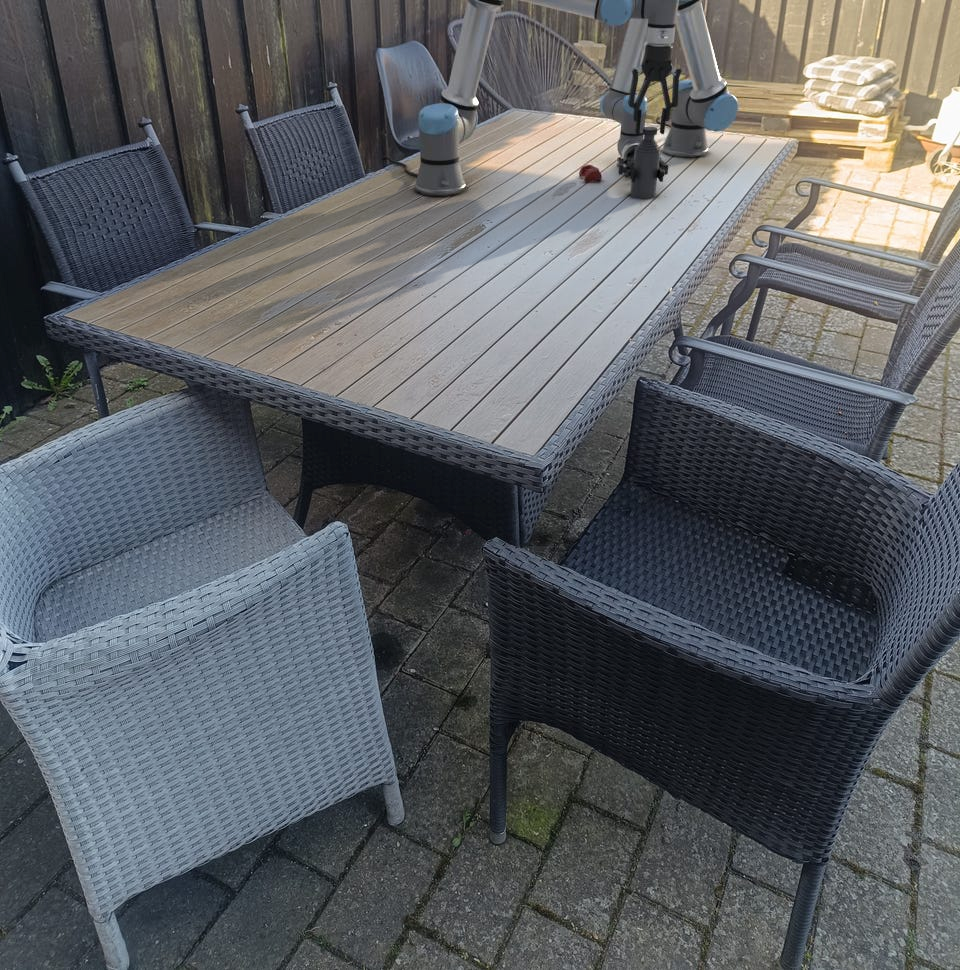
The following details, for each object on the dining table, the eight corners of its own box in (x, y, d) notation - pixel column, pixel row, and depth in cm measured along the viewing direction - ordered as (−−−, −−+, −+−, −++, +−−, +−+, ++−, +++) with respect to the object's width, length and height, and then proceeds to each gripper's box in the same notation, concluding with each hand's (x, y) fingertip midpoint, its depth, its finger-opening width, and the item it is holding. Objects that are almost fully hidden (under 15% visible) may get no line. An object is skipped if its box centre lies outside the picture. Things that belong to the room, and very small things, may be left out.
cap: (648, 131, 246) (648, 125, 245) (659, 134, 244) (660, 128, 243) (639, 133, 244) (639, 128, 243) (650, 136, 242) (651, 130, 241)
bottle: (634, 190, 258) (640, 127, 248) (658, 193, 256) (665, 129, 245) (627, 196, 253) (633, 132, 242) (651, 200, 250) (658, 135, 240)
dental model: (594, 161, 269) (603, 168, 262) (593, 174, 271) (602, 181, 265) (577, 162, 268) (586, 169, 261) (577, 176, 270) (586, 183, 264)
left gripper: (626, 46, 227) (618, 136, 241) (697, 46, 227) (685, 136, 241) (621, 42, 233) (614, 130, 247) (691, 42, 234) (680, 129, 247)
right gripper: (666, 168, 267) (680, 190, 249) (602, 168, 267) (612, 190, 248) (669, 143, 263) (684, 163, 244) (604, 144, 263) (614, 164, 244)
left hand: (649, 132), depth 244 cm, fingers open, 6 cm apart
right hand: (648, 177), depth 246 cm, fingers closed on bottle, 7 cm apart
